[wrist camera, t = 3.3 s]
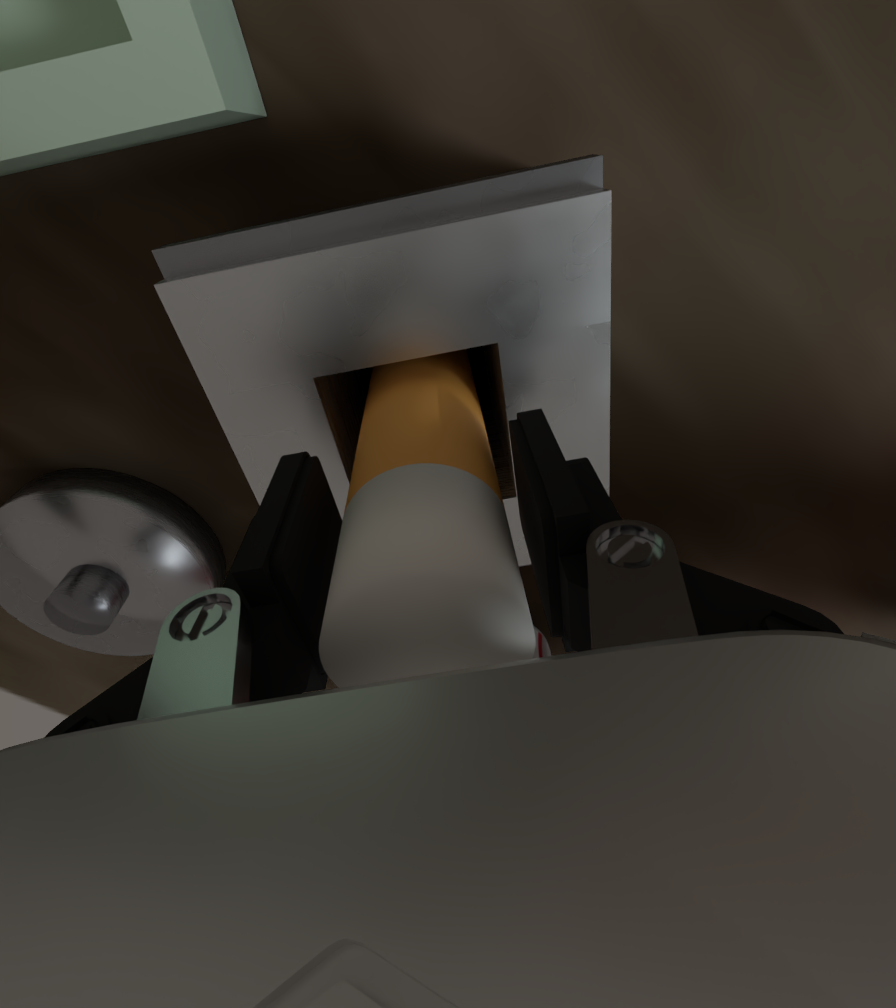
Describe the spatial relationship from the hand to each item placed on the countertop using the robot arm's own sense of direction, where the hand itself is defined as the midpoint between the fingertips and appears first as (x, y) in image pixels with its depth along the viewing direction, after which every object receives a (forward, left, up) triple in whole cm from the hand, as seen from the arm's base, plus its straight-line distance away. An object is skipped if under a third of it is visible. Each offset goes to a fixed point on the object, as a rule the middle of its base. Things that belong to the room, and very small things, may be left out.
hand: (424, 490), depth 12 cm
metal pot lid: (+15, +6, -8) cm, 18 cm away
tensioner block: (0, 0, -8) cm, 8 cm away
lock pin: (0, 0, -8) cm, 8 cm away
